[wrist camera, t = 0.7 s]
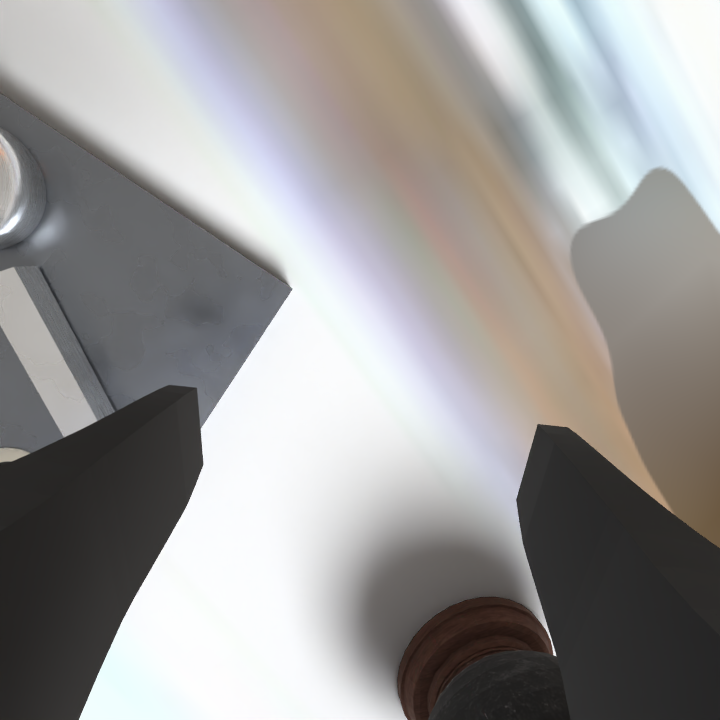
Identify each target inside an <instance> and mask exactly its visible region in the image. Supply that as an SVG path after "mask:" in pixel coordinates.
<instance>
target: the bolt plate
mask: <svg viewBox="0 0 720 720" xmlns="http://www.w3.org/2000/svg"><path fill="white" fill-rule="evenodd" d="M21 266H38V267H39V269H40V271H41V273H42V275H43V277H44V279H45V281H46V282H47V284H48V286H49V288H50V290H51V292H52V294H53V296H54V298H55V299H56V301H57V303H58V305H59V307H60V309H61V311H62V313H63V314H64V316H65V318H66V320H67V322H68V324H69V326H70V328H71V330H72V331H73V333H74V335H75V337H76V339H77V341H78V343H79V345H80V347H81V348H82V350H83V352H84V354H85V356H86V358H87V360H88V362H89V363H90V365H91V367H92V369H93V371H94V373H95V375H96V377H97V379H98V380H99V382H100V384H101V386H102V388H103V390H104V392H105V394H106V396H107V397H108V399H109V401H110V403H111V405H112V407H113V409H114V411H117V410H119V409H121V408H123V407H125V406H127V405H129V404H131V403H133V402H134V401H136V400H138V399H140V398H142V397H144V396H146V395H148V394H150V393H152V392H154V391H156V390H158V389H160V388H162V387H165V386H167V385H177V386H186V387H196V388H197V393H198V405H199V418H200V429H201V427H202V426H203V424H204V423H205V421H206V420H207V418H208V417H209V415H210V414H211V412H212V411H213V409H214V408H215V406H216V405H217V403H218V402H219V400H220V398H221V397H222V395H223V394H224V392H225V391H226V389H227V388H228V386H229V385H230V383H231V382H232V380H233V379H234V377H235V376H236V374H237V373H238V371H239V370H240V368H241V367H242V365H243V363H244V362H245V360H246V359H247V357H248V356H249V354H250V353H251V351H252V350H253V348H254V347H255V345H256V344H257V342H258V341H259V339H260V338H261V336H262V335H263V333H264V332H265V330H266V328H267V327H268V325H269V324H270V322H271V321H272V319H273V318H274V316H275V315H276V313H277V312H278V310H279V309H280V307H281V306H282V304H283V303H284V301H285V300H286V298H287V297H288V295H289V293H290V292H291V290H292V288H291V287H290V286H288V285H287V284H285V283H284V282H282V281H281V280H279V279H278V278H276V277H275V276H273V275H272V274H270V273H269V272H267V271H266V270H264V269H263V268H261V267H260V266H258V265H257V264H255V263H254V262H252V261H251V260H249V259H248V258H246V257H245V256H243V255H242V254H240V253H239V252H237V251H236V250H234V249H233V248H231V247H230V246H228V245H227V244H225V243H224V242H222V241H221V240H219V239H218V238H216V237H215V236H213V235H212V234H210V233H209V232H207V231H206V230H204V229H203V228H201V227H200V226H198V225H197V224H195V223H194V222H192V221H191V220H189V219H188V218H186V217H185V216H183V215H182V214H180V213H179V212H177V211H176V210H174V209H173V208H171V207H170V206H168V205H167V204H165V203H164V202H162V201H161V200H159V199H158V198H156V197H155V196H153V195H152V194H150V193H149V192H147V191H146V190H144V189H143V188H141V187H140V186H138V185H137V184H135V183H134V182H132V181H131V180H129V179H128V178H126V177H125V176H123V175H122V174H120V173H119V172H117V171H116V170H115V169H113V168H112V167H110V166H109V165H107V164H106V163H104V162H103V161H101V160H100V159H98V158H97V157H95V156H94V155H92V154H91V153H89V152H88V151H86V150H85V149H83V148H82V147H80V146H79V145H77V144H76V143H74V142H73V141H71V140H70V139H68V138H67V137H65V136H64V135H62V134H61V133H59V132H58V131H56V130H55V129H53V128H52V127H50V126H49V125H47V124H46V123H44V122H43V121H41V120H40V119H38V118H37V117H35V116H34V115H32V114H31V113H29V112H28V111H26V110H25V109H23V108H22V107H20V106H19V105H17V104H16V103H14V102H13V101H11V100H10V99H8V98H7V97H5V96H4V95H2V94H1V93H0V271H3V270H6V269H9V268H12V267H21ZM62 438H64V437H63V435H62V433H61V431H60V430H59V428H58V426H57V424H56V423H55V421H54V419H53V417H52V416H51V414H50V412H49V410H48V409H47V407H46V405H45V403H44V401H43V400H42V398H41V396H40V394H39V393H38V391H37V389H36V387H35V386H34V384H33V382H32V380H31V379H30V377H29V375H28V373H27V372H26V370H25V368H24V366H23V365H22V363H21V361H20V359H19V358H18V356H17V354H16V352H15V351H14V349H13V347H12V345H11V343H10V342H9V340H8V338H7V336H6V335H5V333H4V331H3V329H2V328H1V326H0V466H2V465H4V464H7V463H9V462H12V461H14V460H16V459H19V458H21V457H23V456H26V455H28V454H30V453H32V452H35V451H37V450H39V449H41V448H43V447H45V446H47V445H49V444H51V443H53V442H56V441H58V440H60V439H62Z"/></svg>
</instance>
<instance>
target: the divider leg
mask: <svg viewBox="0 0 720 720" xmlns="http://www.w3.org/2000/svg"><path fill="white" fill-rule="evenodd" d="M0 326H1V328H2V329H3V331H4V333H5V335H6V336H7V338H8V340H9V342H10V343H11V345H12V347H13V349H14V351H15V352H16V354H17V356H18V358H19V359H20V361H21V363H22V365H23V366H24V368H25V370H26V372H27V373H28V375H29V377H30V379H31V380H32V382H33V384H34V386H35V387H36V389H37V391H38V393H39V394H40V396H41V398H42V400H43V401H44V403H45V405H46V407H47V409H48V410H49V412H50V414H51V416H52V417H53V419H54V421H55V423H56V424H57V426H58V428H59V430H60V431H61V433H62V435H63V437H66V436H68V435H70V434H72V433H74V432H77V431H79V430H81V429H83V428H85V427H87V426H89V425H91V424H93V423H94V422H96V421H98V420H100V419H102V418H104V417H106V416H108V415H110V414H112V413H114V412H115V411H114V409H113V407H112V405H111V403H110V401H109V399H108V397H107V396H106V394H105V392H104V390H103V388H102V386H101V384H100V382H99V380H98V379H97V377H96V375H95V373H94V371H93V369H92V367H91V365H90V363H89V362H88V360H87V358H86V356H85V354H84V352H83V350H82V348H81V347H80V345H79V343H78V341H77V339H76V337H75V335H74V333H73V331H72V330H71V328H70V326H69V324H68V322H67V320H66V318H65V316H64V314H63V313H62V311H61V309H60V307H59V305H58V303H57V301H56V299H55V298H54V296H53V294H52V292H51V290H50V288H49V286H48V284H47V282H46V281H45V279H44V277H43V275H42V273H41V271H40V269H39V267H38V266H21V267H12V268H9V269H6V270H3V271H0Z"/></svg>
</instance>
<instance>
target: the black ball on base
mask: <svg viewBox="0 0 720 720" xmlns="http://www.w3.org/2000/svg"><path fill="white" fill-rule="evenodd" d="M397 682H398V694H399V698H400V701H401V704H402V708H403V711H404V714H405V716H406V718H407V719H408V720H571V719H570V714H569V709H568V704H567V699H566V694H565V689H564V684H563V679H562V675H561V671H560V667H559V663H558V659H557V657H556V656H553V650H552V645H551V640H550V638H549V636H548V634H547V632H546V630H545V628H544V627H543V626H542V624H541V623H540V622H539V621H538V619H537V618H536V617H535V616H534V615H533V613H532V612H531V611H529V610H528V609H527V608H525V607H524V606H523V605H521V604H519V603H516V602H514V601H512V600H509V599H504V598H499V597H480V598H475V599H470V600H465V601H463V602H460V603H458V604H455V605H452V606H450V607H449V608H447V609H445V610H443V611H442V612H440V613H438V614H437V615H436V616H434V617H433V618H432V619H431V620H430V621H428V622H427V623H426V624H425V625H424V626H423V627H422V628H421V629H420V630H419V631H418V633H417V634H416V635H415V636H414V637H413V639H412V640H411V642H410V644H409V645H408V647H407V649H406V650H405V653H404V655H403V658H402V661H401V663H400V666H399V672H398V679H397Z"/></svg>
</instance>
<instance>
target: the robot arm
mask: <svg viewBox="0 0 720 720" xmlns="http://www.w3.org/2000/svg"><path fill="white" fill-rule="evenodd" d="M202 467H203V455H202V442H201V430H200V418H199V405H198V393H197V388H196V387H186V386H177V385H167V386H165V387H162V388H160V389H158V390H156V391H154V392H152V393H150V394H148V395H146V396H144V397H142V398H140V399H138V400H136V401H134V402H133V403H131V404H129V405H127V406H125V407H123V408H121V409H119V410H117V411H115V412H114V413H112V414H110V415H108V416H106V417H104V418H102V419H100V420H98V421H96V422H94V423H93V424H91V425H89V426H87V427H85V428H83V429H81V430H79V431H77V432H74V433H72V434H70V435H68V436H66V437H64V438H62V439H60V440H58V441H56V442H53V443H51V444H49V445H47V446H45V447H43V448H41V449H39V450H37V451H35V452H32V453H30V454H28V455H26V456H23V457H21V458H19V459H16V460H14V461H12V462H9V463H7V464H4V465H2V466H0V720H79V718H80V715H81V713H82V711H83V708H84V706H85V704H86V701H87V699H88V696H89V694H90V692H91V689H92V687H93V685H94V682H95V680H96V678H97V675H98V673H99V671H100V668H101V666H102V664H103V662H104V660H105V657H106V655H107V653H108V651H109V649H110V646H111V644H112V642H113V640H114V637H115V635H116V633H117V631H118V629H119V626H120V624H121V622H122V620H123V618H124V616H125V614H126V612H127V610H128V609H129V607H130V605H131V603H132V601H133V599H134V597H135V595H136V594H137V592H138V590H139V589H140V587H141V585H142V583H143V582H144V580H145V578H146V576H147V575H148V573H149V571H150V569H151V568H152V566H153V564H154V562H155V561H156V559H157V557H158V556H159V554H160V552H161V550H162V549H163V547H164V545H165V543H166V542H167V540H168V538H169V536H170V535H171V533H172V531H173V529H174V528H175V526H176V524H177V522H178V521H179V519H180V517H181V515H182V513H183V512H184V510H185V508H186V506H187V504H188V502H189V499H190V497H191V495H192V492H193V490H194V487H195V485H196V482H197V480H198V477H199V474H200V472H201V469H202ZM516 501H517V508H518V515H519V522H520V528H521V534H522V540H523V545H524V548H525V552H526V555H527V559H528V562H529V566H530V569H531V572H532V576H533V579H534V582H535V586H536V589H537V592H538V596H539V599H540V602H541V605H542V609H543V612H544V615H545V619H546V622H547V625H548V628H549V632H550V635H551V638H552V642H553V645H554V648H555V652H556V656H557V659H558V663H559V667H560V671H561V675H562V679H563V684H564V689H565V694H566V699H567V704H568V709H569V714H570V719H571V720H720V548H719V547H717V546H716V545H714V544H713V543H711V542H710V541H709V540H707V539H706V538H704V537H703V536H702V535H700V534H699V533H697V532H696V531H695V530H693V529H692V528H691V527H689V526H688V525H687V524H686V523H684V522H683V521H682V520H680V519H679V518H678V517H676V516H675V515H674V514H672V513H671V512H670V511H668V510H667V509H666V508H665V507H663V506H662V505H661V504H660V503H658V502H657V501H656V500H655V499H653V498H652V497H651V496H650V495H648V494H647V493H646V492H645V491H643V490H642V489H641V488H640V487H639V486H637V485H636V484H635V483H634V482H633V481H631V480H630V479H629V478H628V477H627V476H626V475H624V474H623V473H622V472H621V471H620V470H618V469H617V468H616V467H615V466H614V465H613V464H611V463H610V462H609V461H608V460H607V459H606V458H604V457H603V456H602V455H601V454H600V453H599V452H598V451H596V450H595V449H594V448H593V447H592V446H590V445H589V444H588V443H587V442H586V441H585V440H583V439H582V438H581V437H580V436H578V435H577V434H576V433H575V432H573V431H572V430H571V429H569V428H568V427H559V426H550V425H541V424H538V425H537V429H536V432H535V436H534V439H533V443H532V446H531V450H530V453H529V457H528V461H527V464H526V468H525V471H524V475H523V478H522V482H521V485H520V489H519V492H518V496H517V499H516Z"/></svg>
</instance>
